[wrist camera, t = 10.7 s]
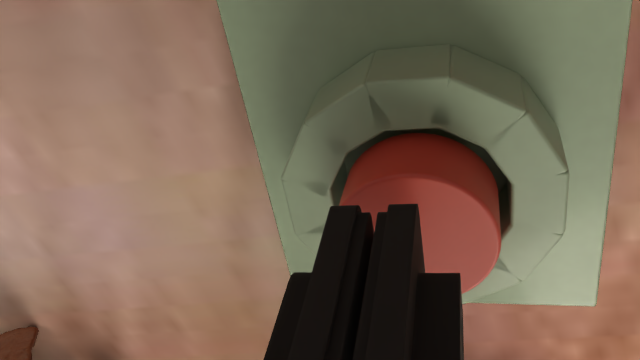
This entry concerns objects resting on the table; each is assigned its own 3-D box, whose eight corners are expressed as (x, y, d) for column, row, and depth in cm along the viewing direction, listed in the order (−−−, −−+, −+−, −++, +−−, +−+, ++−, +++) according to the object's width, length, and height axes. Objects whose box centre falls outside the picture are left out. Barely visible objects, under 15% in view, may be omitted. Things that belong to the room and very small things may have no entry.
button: (335, 134, 14) (320, 177, 12) (497, 127, 13) (501, 172, 11) (356, 252, 15) (345, 300, 14) (498, 253, 14) (501, 305, 13)
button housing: (236, -29, 15) (182, 18, 12) (622, -79, 13) (666, -36, 10) (307, 263, 20) (281, 341, 18) (587, 266, 18) (608, 358, 15)
